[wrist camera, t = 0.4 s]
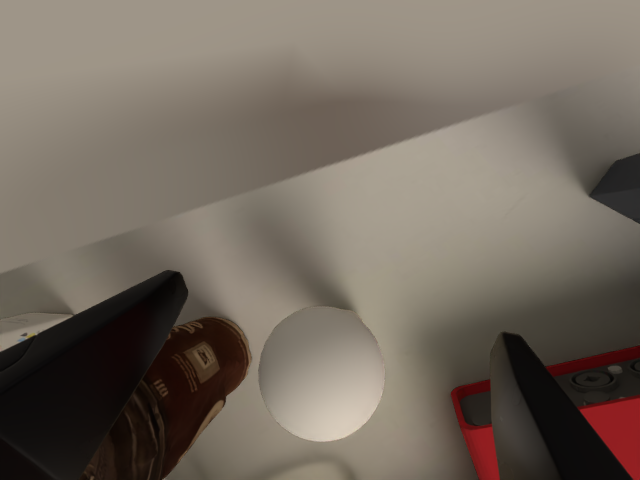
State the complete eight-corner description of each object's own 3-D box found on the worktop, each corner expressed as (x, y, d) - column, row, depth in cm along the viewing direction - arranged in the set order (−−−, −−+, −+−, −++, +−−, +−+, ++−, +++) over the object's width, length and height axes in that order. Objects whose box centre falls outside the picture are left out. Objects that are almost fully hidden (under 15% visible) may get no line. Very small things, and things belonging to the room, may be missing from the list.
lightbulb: (364, 267, 24) (332, 299, 13) (407, 345, 23) (410, 445, 12) (293, 304, 25) (211, 361, 14) (331, 378, 25) (276, 494, 14)
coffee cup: (278, 399, 26) (156, 565, 13) (189, 418, 28) (9, 577, 15) (245, 290, 26) (95, 349, 13) (159, 317, 28) (-41, 390, 15)
